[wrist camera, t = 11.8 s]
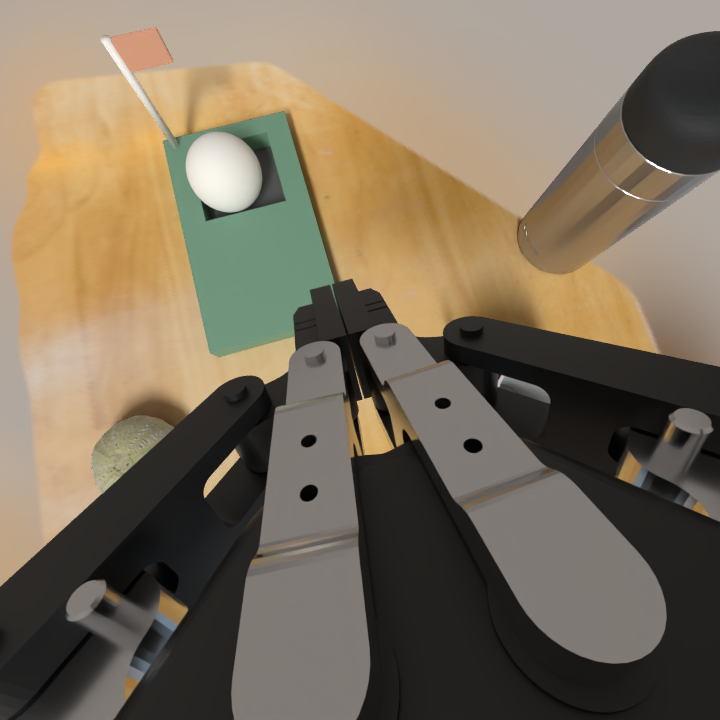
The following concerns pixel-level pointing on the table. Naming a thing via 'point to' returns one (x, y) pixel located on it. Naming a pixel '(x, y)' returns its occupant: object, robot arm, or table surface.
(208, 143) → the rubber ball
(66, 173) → the table surface
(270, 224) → the putting board
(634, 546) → the robot arm
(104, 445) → the sea urchin shell
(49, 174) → the table surface
